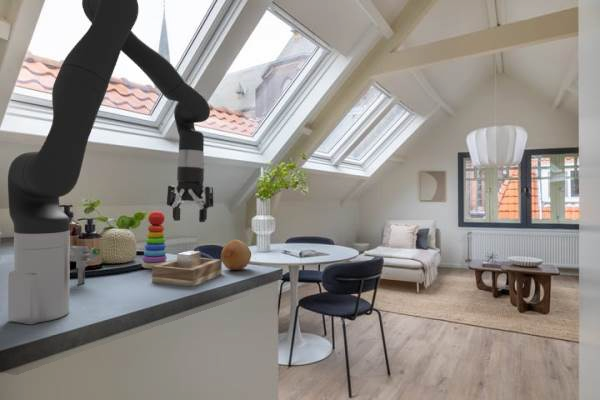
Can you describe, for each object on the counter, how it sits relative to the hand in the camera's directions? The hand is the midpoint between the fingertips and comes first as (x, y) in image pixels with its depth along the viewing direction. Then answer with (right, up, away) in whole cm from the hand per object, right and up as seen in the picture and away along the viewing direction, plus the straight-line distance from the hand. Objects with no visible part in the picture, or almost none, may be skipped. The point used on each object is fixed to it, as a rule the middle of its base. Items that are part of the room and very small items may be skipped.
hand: (189, 221), depth 107 cm
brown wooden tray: (0, -17, 0) cm, 17 cm away
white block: (0, -15, 0) cm, 15 cm away
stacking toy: (-16, -16, +14) cm, 27 cm away
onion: (+11, -17, +13) cm, 24 cm away
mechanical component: (-27, -17, -8) cm, 33 cm away
